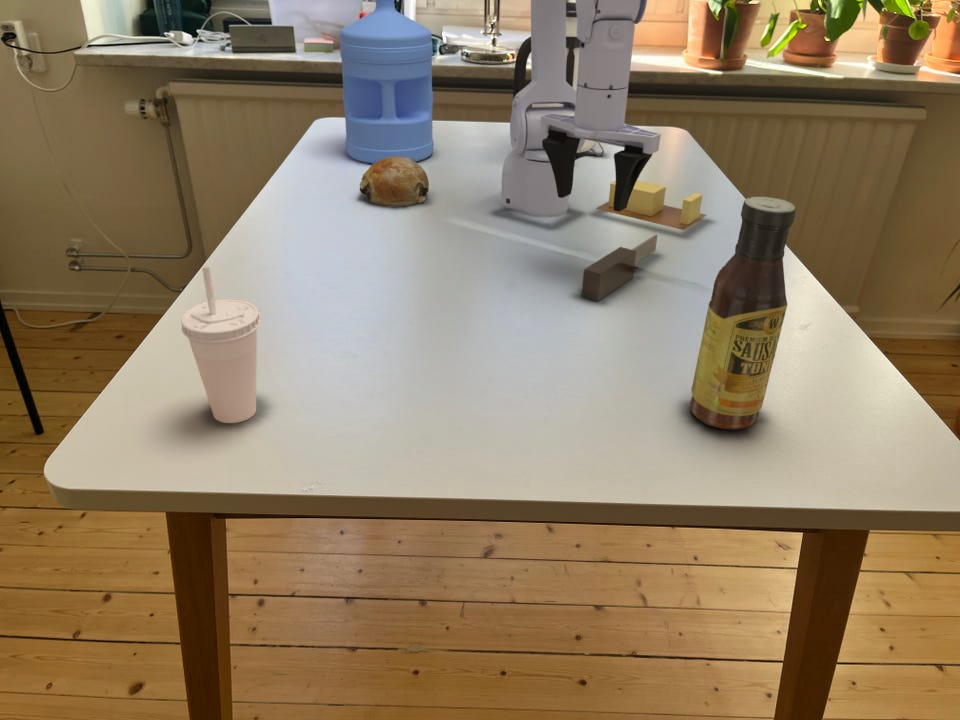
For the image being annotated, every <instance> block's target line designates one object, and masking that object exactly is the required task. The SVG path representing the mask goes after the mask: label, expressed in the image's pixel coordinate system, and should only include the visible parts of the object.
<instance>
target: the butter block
mask: <svg viewBox="0 0 960 720" xmlns="http://www.w3.org/2000/svg"><path fill="white" fill-rule="evenodd" d="M609 185H610V186H609V195H608V202H609V204H608V206H609V207H614V194H615V186H616V180H615V181H613V182H611V183H610V184H609ZM666 189H667V186H665V185H661V184H656V183H651V182H646V181H642V180H638V179H637V181H636V183H635V185H634V188H633V190H632V193H631V195H630V198H629V201H628V204H627V208H625V209H623V210H626V211H630V212H635V213H639V214H643V215H647V216H652V215H654V214H656V213H658V212H659V211H661V210H663V205H665V204H664V203H665V196H666Z"/></svg>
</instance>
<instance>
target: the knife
mask: <svg viewBox="0 0 960 720" xmlns="http://www.w3.org/2000/svg"><path fill="white" fill-rule="evenodd" d="M657 242H658V234H654V235H652V236H651V237H649V238H647V239H645V240H644V241H643V242H641V243H640V244H638V245H636V246H635V247H633V248H631V249H630V248H627V247H623V246H620V247H617V248H616V249H615V250H613V251H611V252H610V253H608V254H606V255H605V256H603V257H602V258H600V259H598V260H597V261H595V262H593V263H592V264H590V265H588V266H587V267H585V268H583V273H582V286H581V295H580V296H581V297H582V298H585V299H588V300H591V301H594V302H599V301H601V300H602V299H603V298H605V297H607V296H608V295H610V294H611V293H612V292H614V291H615V290H617V289H618V288H621V286H623V285H624V284H625V283H627V282H628V281H630V280H632V279H633V278H634V275H635V274H634V273H635V270H636V269H638V268H639V266H636V265H635V264H636V263H637V262H639V261H641V260H643V259H644V258H645V257H646V256H647V257H648V255H650V254H651V253H653V252H655V251H656V250H657Z"/></svg>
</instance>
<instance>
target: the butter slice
mask: <svg viewBox="0 0 960 720" xmlns="http://www.w3.org/2000/svg"><path fill="white" fill-rule="evenodd" d="M702 200H703V193H698V192H694V193H691V194H690V195H688V196H687V197H685V198H683V201H682V205H681V206H682V207H681V209H682V213H681V220H680V223H681V224H685V225H688V224H690V223H691V222H693V221H694V220H696V219H698V218H699V214H700V213H701V207H702Z"/></svg>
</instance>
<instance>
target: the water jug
mask: <svg viewBox="0 0 960 720" xmlns="http://www.w3.org/2000/svg"><path fill="white" fill-rule="evenodd" d="M432 37H433V36H432V31H431V30H430V28H428V27H426V26H424V25H422V24H421V23H419V22H417V21H416V20H414V19H411V18H410V17H408V16H406V15H404V14H402V13H401V12H399V11H397V9H396V7H395V0H375V8H374V10H373V11H372V12H369V13H368V14H366V15H364V16H363V17H361V18H359V19H357V20H355V21H353V22H352V23H350V24H348V25H346V26H344V27H342V28H341V29H340V31H339V38H340V39H339V53H340V58H341V74H342V103H343V108H344V120H345V137H346V138H345V150H346V153H347V154H348V156H350V157H351V158H352V159H353V160H356V161H359V162H363V163H367V164H372V165H373V164H374V163H376V162H378V161H380V160H382V159H385V158H388V157H394V156H395V157H402V158H410V159H411V160H412V161H413V162H416V163H417V162H419V161H423V160H425V159H427V158H429V157H430V156H431V155H432V154H433V152H434V146H435V145H434V144H435V143H434V138H433V107H434V92H433V76H432V75H433V68H432V65H433V62H432V59H433V52H434V51H433V49H434V48H433V41H432V40H433V39H432Z"/></svg>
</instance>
